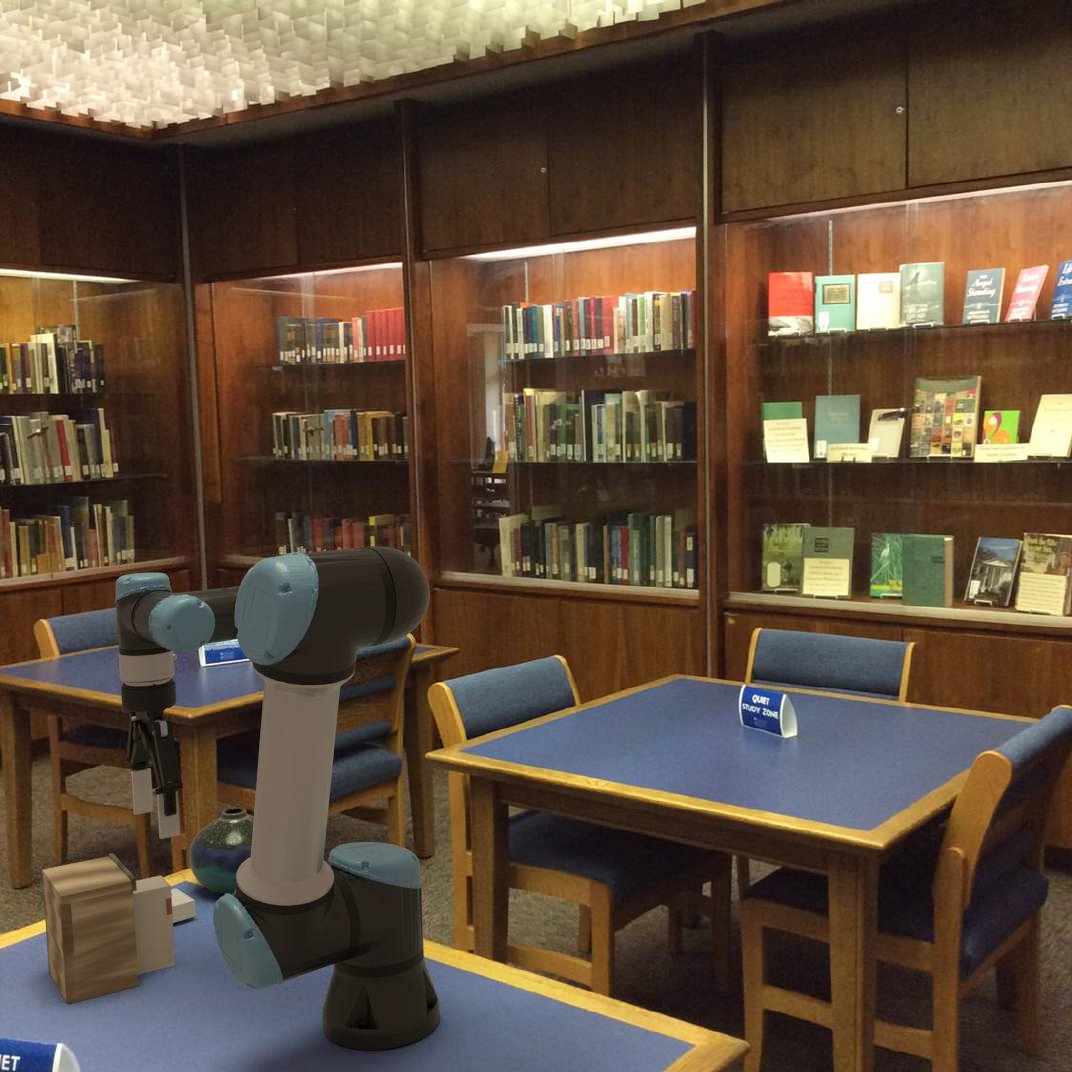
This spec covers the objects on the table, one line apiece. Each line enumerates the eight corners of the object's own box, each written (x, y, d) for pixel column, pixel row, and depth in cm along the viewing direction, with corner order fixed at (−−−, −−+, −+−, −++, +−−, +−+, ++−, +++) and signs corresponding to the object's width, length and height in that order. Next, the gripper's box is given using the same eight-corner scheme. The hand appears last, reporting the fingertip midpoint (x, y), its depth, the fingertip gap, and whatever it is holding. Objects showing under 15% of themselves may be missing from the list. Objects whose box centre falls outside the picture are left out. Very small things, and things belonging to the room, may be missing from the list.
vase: (257, 864, 221) (253, 791, 220) (300, 887, 209) (296, 810, 208) (175, 886, 211) (171, 810, 210) (215, 912, 199) (211, 832, 198)
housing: (142, 985, 174) (135, 878, 172) (68, 1004, 168) (61, 894, 167) (118, 954, 184) (112, 853, 183) (48, 971, 179) (41, 867, 177)
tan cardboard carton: (175, 965, 180) (170, 885, 179) (104, 983, 174) (99, 901, 173) (165, 953, 184) (160, 875, 183) (95, 970, 179) (91, 890, 178)
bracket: (115, 945, 188) (112, 897, 187) (98, 932, 193) (95, 885, 193) (196, 921, 196) (193, 875, 196) (177, 909, 202) (174, 864, 201)
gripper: (200, 691, 169) (208, 841, 171) (150, 664, 190) (157, 798, 192) (145, 698, 165) (154, 853, 167) (100, 670, 186) (108, 808, 188)
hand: (156, 824), depth 180 cm, fingers open, 13 cm apart
